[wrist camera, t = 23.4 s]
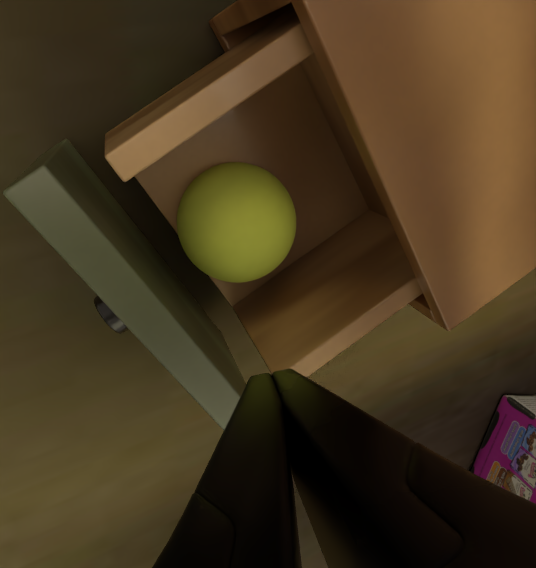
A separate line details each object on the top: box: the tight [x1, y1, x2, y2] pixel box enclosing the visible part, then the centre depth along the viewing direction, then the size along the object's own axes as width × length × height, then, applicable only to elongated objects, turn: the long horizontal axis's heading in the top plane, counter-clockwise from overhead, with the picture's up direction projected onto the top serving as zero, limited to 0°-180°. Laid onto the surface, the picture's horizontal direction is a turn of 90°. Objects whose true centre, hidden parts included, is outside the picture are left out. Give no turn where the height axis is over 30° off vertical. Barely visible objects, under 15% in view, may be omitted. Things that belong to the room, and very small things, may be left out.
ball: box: [177, 162, 296, 283], centre depth 17 cm, size 4×4×4 cm
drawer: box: [3, 8, 423, 430], centre depth 17 cm, size 12×11×7 cm
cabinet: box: [209, 0, 536, 331], centre depth 17 cm, size 12×12×9 cm
